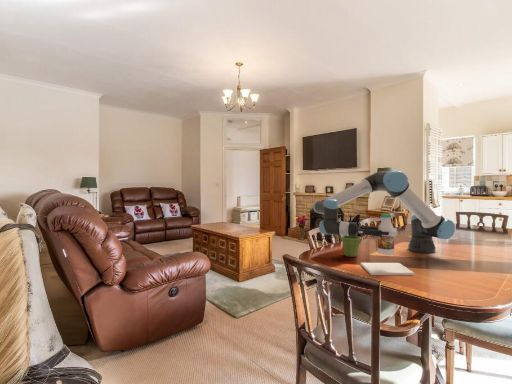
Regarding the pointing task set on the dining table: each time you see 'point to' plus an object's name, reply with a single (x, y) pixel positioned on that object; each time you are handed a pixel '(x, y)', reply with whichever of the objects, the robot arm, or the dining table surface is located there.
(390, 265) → the placemat
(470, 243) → the dining table surface
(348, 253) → the plant pot
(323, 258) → the dining table surface
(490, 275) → the dining table surface
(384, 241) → the milk bottle
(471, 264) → the dining table surface
